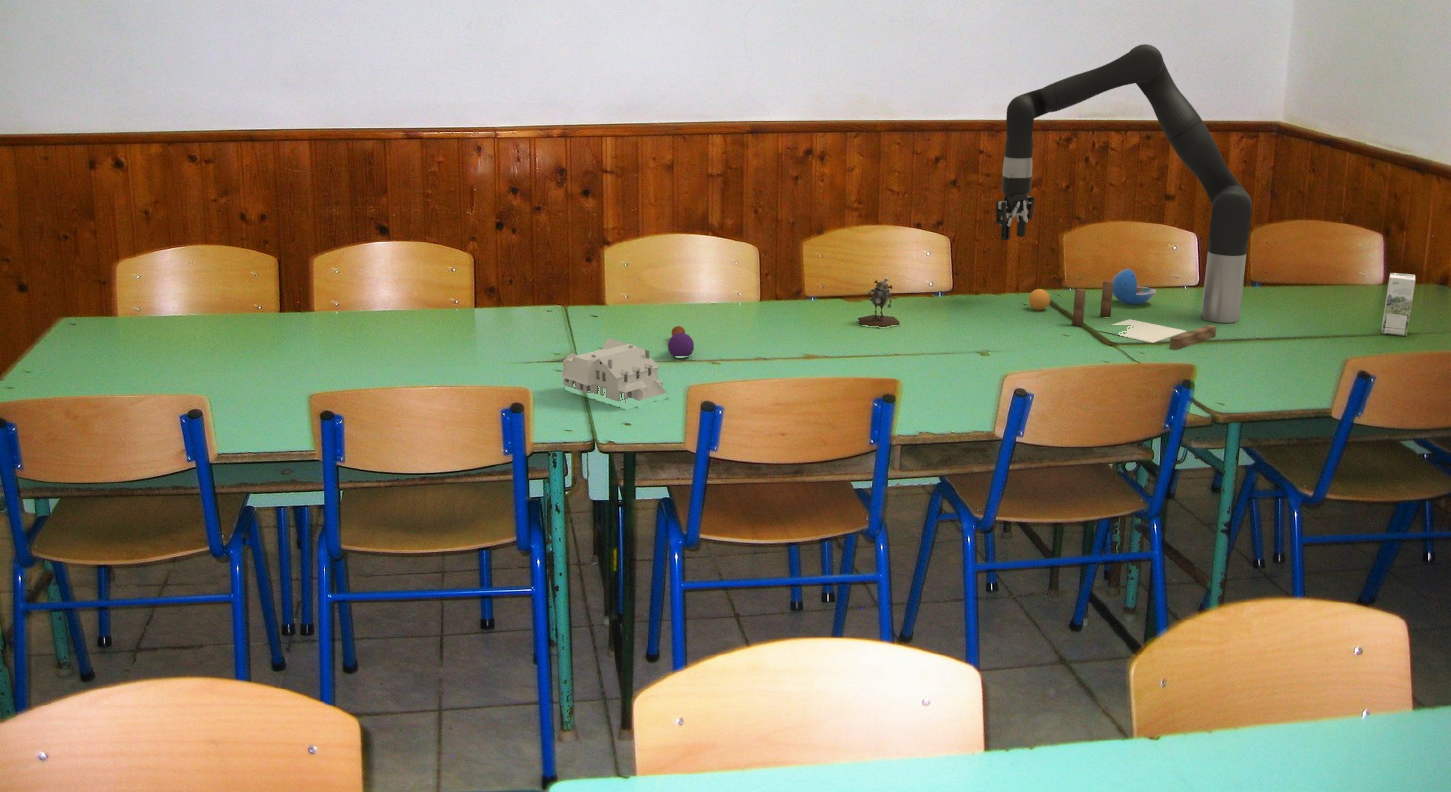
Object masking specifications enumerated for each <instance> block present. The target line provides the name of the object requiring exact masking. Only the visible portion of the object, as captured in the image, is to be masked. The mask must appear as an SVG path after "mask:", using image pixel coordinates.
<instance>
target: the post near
mask: <svg viewBox="0 0 1451 792" xmlns="http://www.w3.org/2000/svg"><path fill="white" fill-rule="evenodd" d="M1086 291H1087V290H1086V289H1083V288H1075V289H1074V297H1073V299H1074V300H1073V311H1072V312H1073V313H1072V326H1074V327H1083V326H1084V315H1085V304H1086Z"/></svg>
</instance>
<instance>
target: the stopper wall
mask: <svg viewBox="0 0 1451 792" xmlns="http://www.w3.org/2000/svg"><path fill="white" fill-rule="evenodd" d="M1216 334H1217V326H1215V325H1210V324H1208V325H1205V326H1202V327H1198V328H1196V329H1192V330H1190V331H1187V332H1185V333H1182V334H1179V335H1176V336H1173V337H1170V340H1169V349H1171V350H1180V349H1183V348H1186V347H1189V346H1191V345H1194V344H1198V343H1201V342H1203V341H1206V340H1209V339H1212V338H1215V337H1216Z"/></svg>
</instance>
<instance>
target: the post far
mask: <svg viewBox="0 0 1451 792" xmlns="http://www.w3.org/2000/svg"><path fill="white" fill-rule="evenodd" d="M1113 284H1114V283H1113V282H1112V281H1103V282H1102V290H1101V302H1100V314H1099V317H1100V316H1101V317H1100V318H1102V317H1110V318H1111V317H1112V306H1113V305H1112V304H1113V295H1114V294H1113Z"/></svg>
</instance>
